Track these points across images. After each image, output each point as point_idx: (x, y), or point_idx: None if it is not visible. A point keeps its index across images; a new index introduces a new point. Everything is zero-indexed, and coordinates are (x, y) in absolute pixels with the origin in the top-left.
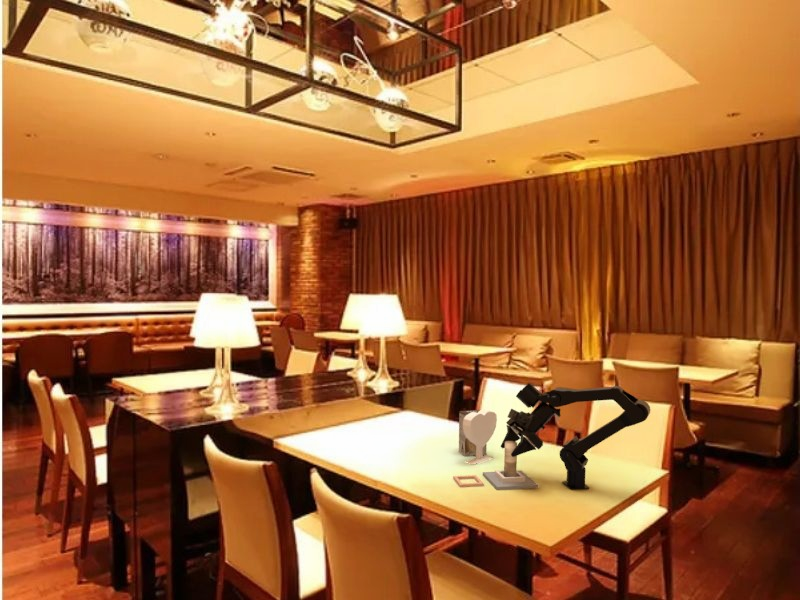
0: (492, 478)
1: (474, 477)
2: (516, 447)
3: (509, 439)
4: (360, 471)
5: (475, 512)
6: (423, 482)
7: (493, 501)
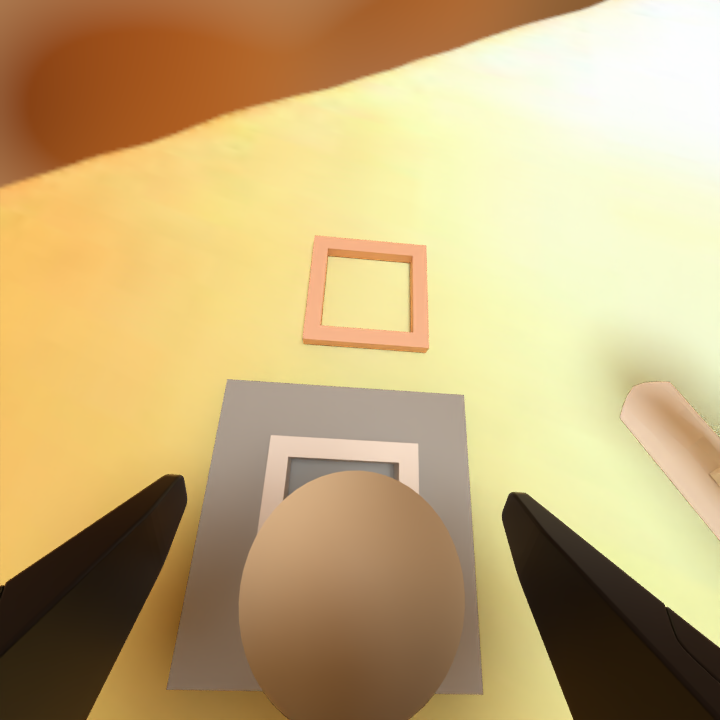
0: (357, 408)
1: (408, 334)
2: (56, 565)
3: (608, 678)
4: (516, 34)
5: (37, 203)
6: (393, 147)
7: (105, 310)
